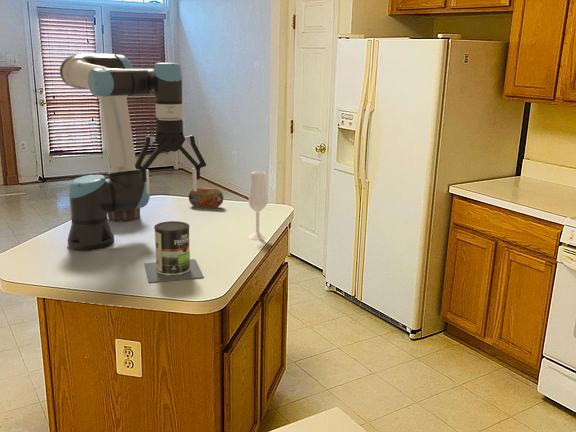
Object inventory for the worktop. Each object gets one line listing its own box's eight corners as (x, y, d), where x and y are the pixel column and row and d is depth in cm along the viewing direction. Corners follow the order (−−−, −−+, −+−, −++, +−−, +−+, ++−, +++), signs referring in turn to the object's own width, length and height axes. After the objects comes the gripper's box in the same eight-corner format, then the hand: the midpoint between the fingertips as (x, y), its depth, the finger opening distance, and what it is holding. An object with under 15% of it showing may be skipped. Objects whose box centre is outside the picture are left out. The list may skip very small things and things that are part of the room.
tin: (188, 206, 248) (188, 187, 246) (191, 204, 251) (190, 186, 249) (222, 209, 246) (222, 190, 244) (224, 207, 249) (224, 188, 247)
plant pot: (94, 221, 223) (91, 181, 219) (115, 211, 238) (113, 173, 234) (132, 225, 220) (130, 184, 215) (151, 214, 235) (150, 176, 231)
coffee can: (197, 268, 177) (196, 224, 173) (174, 278, 168) (172, 232, 164) (172, 261, 182) (171, 218, 178) (148, 271, 173) (146, 226, 170)
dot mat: (148, 283, 165) (148, 282, 165) (144, 264, 180) (144, 263, 180) (203, 278, 170) (203, 276, 170) (195, 259, 185) (195, 258, 185)
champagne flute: (263, 240, 206) (264, 175, 199) (246, 238, 207) (246, 173, 201) (268, 235, 212) (269, 171, 205) (251, 233, 213) (251, 170, 207)
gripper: (124, 120, 156) (128, 196, 161) (215, 119, 163) (216, 192, 169) (123, 117, 163) (127, 190, 168) (210, 116, 170) (211, 186, 176)
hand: (171, 191), depth 169 cm, fingers open, 13 cm apart
